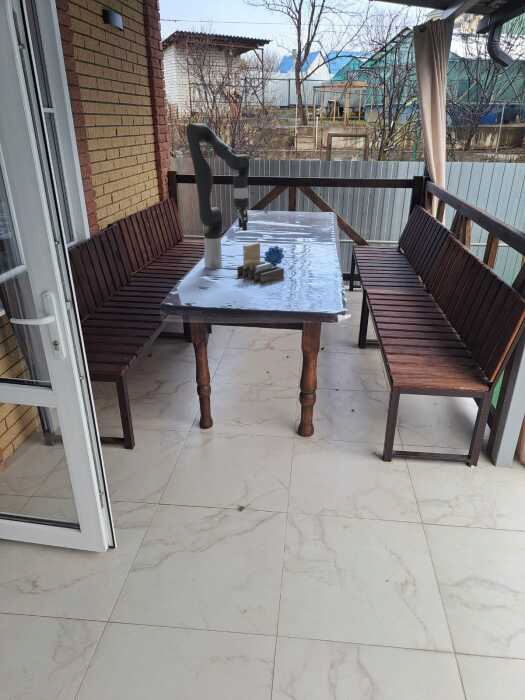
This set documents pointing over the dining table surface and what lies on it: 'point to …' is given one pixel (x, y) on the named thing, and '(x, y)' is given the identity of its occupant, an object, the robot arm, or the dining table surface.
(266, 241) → the dining table surface
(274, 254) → the grapes
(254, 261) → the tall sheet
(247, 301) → the dining table surface
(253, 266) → the offcut oak
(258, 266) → the offcut grey
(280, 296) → the dining table surface
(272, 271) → the rack
